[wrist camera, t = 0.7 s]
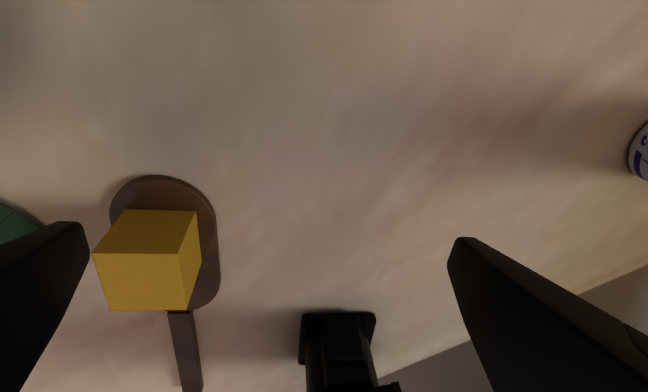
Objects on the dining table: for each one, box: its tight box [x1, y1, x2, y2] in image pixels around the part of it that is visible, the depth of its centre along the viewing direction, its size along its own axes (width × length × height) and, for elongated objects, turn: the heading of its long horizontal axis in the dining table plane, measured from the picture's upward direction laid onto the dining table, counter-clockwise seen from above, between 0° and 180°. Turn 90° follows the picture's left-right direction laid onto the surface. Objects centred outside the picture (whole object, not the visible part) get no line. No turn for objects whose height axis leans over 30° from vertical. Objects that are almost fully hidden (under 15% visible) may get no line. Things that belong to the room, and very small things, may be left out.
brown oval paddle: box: [110, 176, 221, 392], centre depth 27 cm, size 23×7×1 cm, turn 175°
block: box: [92, 209, 202, 311], centre depth 21 cm, size 4×4×4 cm
